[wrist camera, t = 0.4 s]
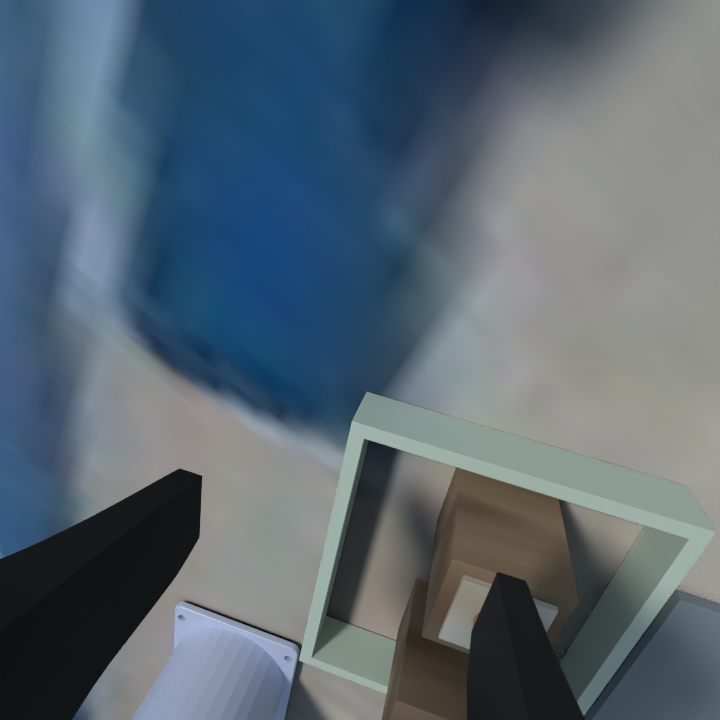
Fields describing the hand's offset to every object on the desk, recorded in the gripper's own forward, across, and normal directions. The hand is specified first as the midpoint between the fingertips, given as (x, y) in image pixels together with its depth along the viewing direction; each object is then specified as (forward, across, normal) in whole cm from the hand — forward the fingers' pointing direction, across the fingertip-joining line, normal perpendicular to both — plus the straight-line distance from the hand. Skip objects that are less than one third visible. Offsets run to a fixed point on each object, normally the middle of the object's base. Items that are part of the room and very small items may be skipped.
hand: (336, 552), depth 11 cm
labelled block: (+10, -5, +5) cm, 12 cm away
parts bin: (+10, -5, +9) cm, 14 cm away
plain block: (+10, -5, +13) cm, 17 cm away
